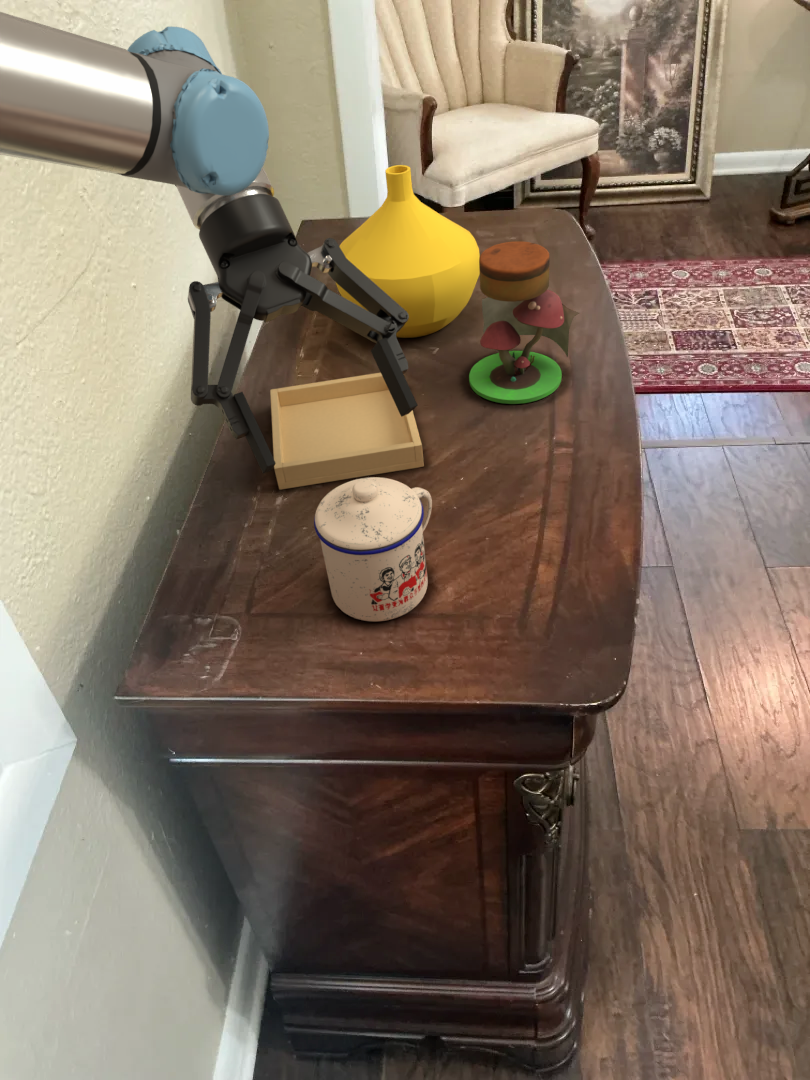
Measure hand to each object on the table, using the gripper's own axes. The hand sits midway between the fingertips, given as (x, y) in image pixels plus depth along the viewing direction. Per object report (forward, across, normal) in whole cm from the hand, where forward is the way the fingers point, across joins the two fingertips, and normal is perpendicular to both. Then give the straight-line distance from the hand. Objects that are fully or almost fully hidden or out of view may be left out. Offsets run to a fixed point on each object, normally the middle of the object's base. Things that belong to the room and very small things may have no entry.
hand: (341, 439), depth 74 cm
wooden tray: (-3, -7, -20) cm, 21 cm away
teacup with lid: (+13, 0, -4) cm, 13 cm away
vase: (-16, -26, -32) cm, 44 cm away
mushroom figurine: (-1, -28, -18) cm, 34 cm away
